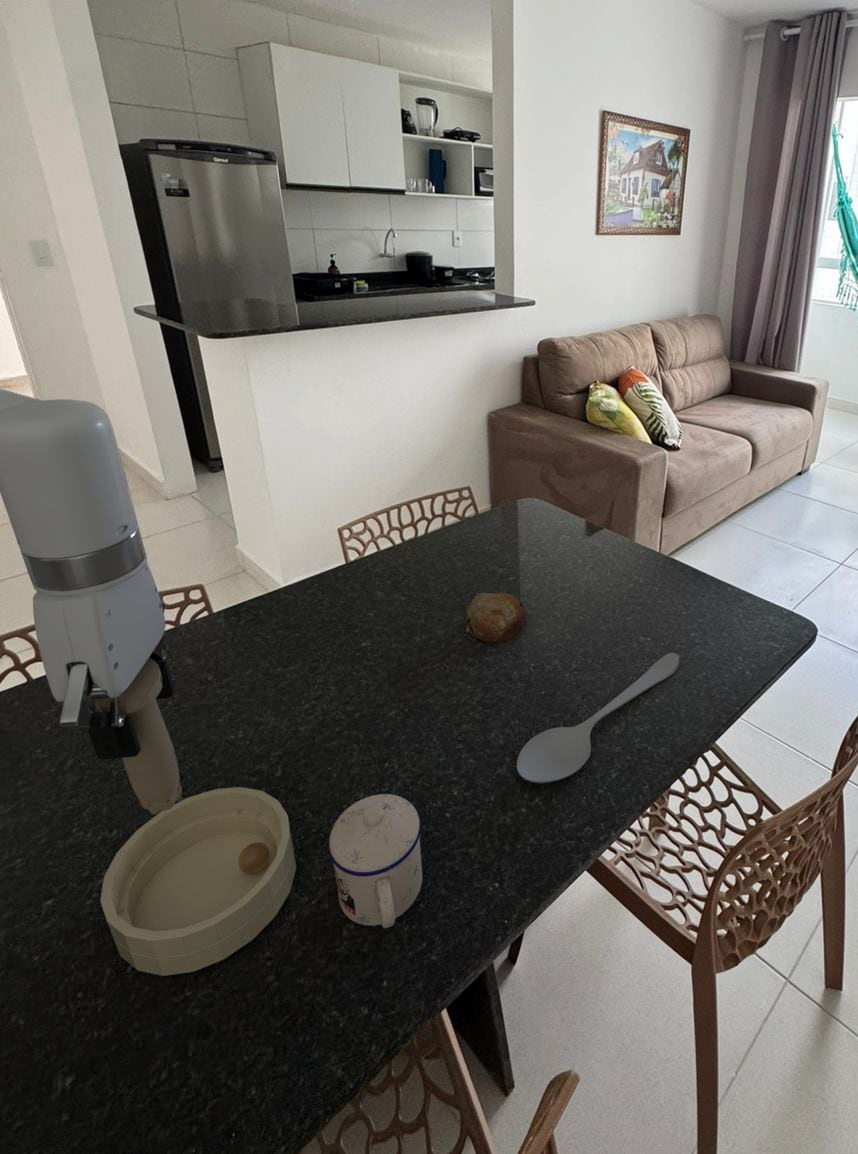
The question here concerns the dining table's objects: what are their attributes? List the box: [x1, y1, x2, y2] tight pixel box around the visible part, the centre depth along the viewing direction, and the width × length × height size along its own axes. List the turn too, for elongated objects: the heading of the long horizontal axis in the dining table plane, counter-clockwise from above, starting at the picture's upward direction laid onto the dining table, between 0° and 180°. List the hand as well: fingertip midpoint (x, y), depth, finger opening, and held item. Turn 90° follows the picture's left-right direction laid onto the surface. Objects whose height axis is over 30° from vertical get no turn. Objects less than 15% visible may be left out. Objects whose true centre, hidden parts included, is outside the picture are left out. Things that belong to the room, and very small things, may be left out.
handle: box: [93, 657, 183, 815], centre depth 61 cm, size 5×6×15 cm
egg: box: [238, 842, 270, 874], centre depth 72 cm, size 3×3×3 cm
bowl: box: [99, 786, 297, 977], centre depth 69 cm, size 17×17×6 cm
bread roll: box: [465, 591, 526, 644], centre depth 114 cm, size 10×10×8 cm
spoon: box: [516, 652, 680, 784], centre depth 96 cm, size 35×8×3 cm, turn 140°
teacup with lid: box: [327, 793, 423, 929], centre depth 68 cm, size 12×9×12 cm
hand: (138, 723), depth 60 cm, fingers closed on handle, 6 cm apart
